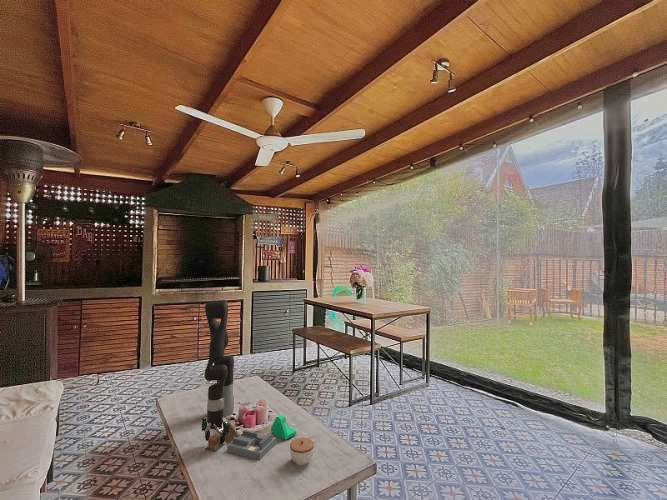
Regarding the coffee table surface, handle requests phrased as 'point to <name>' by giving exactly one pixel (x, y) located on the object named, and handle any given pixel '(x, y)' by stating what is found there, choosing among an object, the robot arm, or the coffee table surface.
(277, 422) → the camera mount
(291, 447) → the lidded jar
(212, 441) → the block
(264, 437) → the rail board
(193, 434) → the coffee table surface
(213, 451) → the mat
